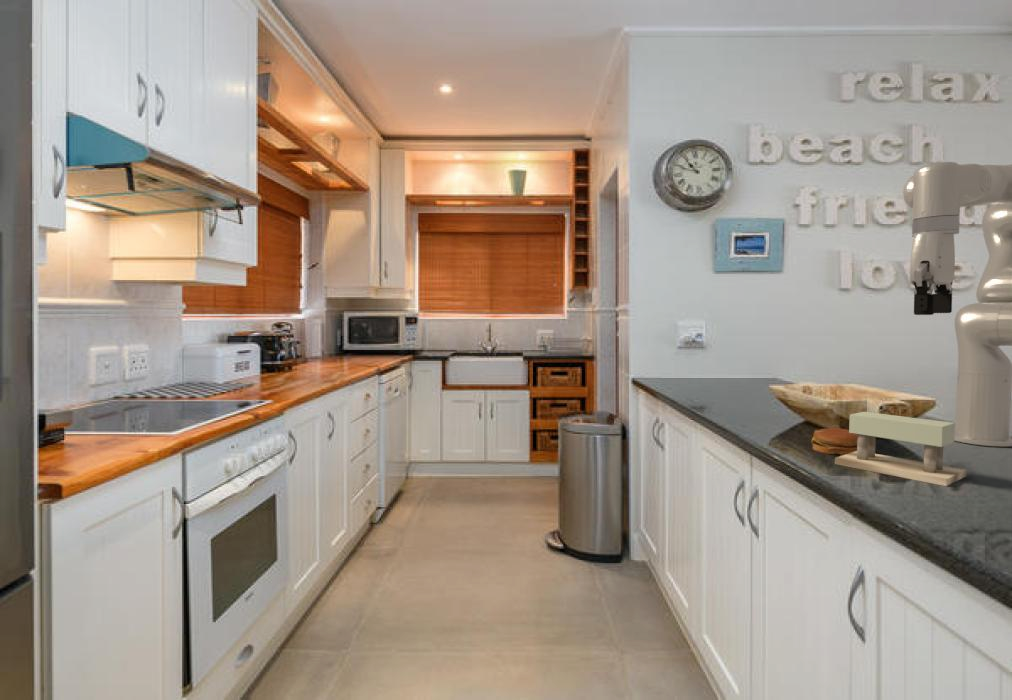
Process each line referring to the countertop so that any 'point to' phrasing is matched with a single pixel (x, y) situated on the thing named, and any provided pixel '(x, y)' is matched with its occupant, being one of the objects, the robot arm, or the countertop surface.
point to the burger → (834, 441)
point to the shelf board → (903, 428)
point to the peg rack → (902, 463)
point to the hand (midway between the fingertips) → (932, 313)
